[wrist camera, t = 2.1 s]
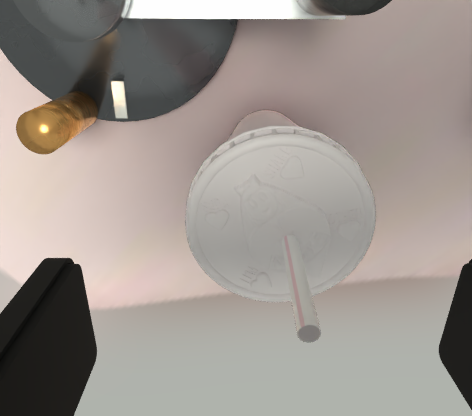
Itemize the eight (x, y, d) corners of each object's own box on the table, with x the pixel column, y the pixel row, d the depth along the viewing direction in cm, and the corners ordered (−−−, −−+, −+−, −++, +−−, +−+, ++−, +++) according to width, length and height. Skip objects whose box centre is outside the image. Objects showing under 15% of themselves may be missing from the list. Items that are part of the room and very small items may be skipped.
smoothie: (251, 216, 24) (262, 443, 11) (182, 132, 21) (97, 294, 9) (345, 155, 22) (484, 341, 9) (280, 56, 20) (347, 125, 7)
